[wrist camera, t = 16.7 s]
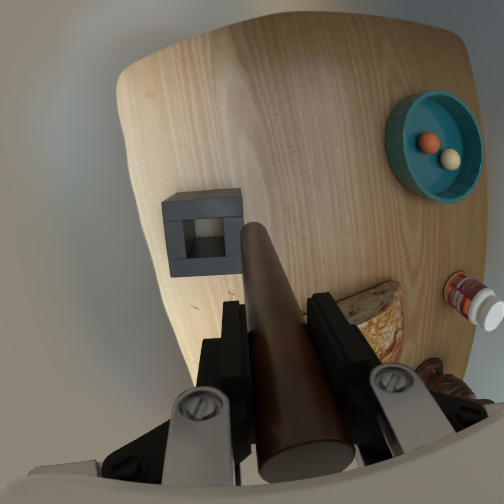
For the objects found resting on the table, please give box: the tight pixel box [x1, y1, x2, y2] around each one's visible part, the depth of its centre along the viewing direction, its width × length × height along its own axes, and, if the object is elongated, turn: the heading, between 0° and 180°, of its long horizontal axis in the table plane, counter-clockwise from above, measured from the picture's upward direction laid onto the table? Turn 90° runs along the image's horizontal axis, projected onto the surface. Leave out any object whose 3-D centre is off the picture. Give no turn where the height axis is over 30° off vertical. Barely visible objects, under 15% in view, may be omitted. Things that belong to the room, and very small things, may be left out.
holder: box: [161, 188, 244, 278], centre depth 34 cm, size 8×8×8 cm
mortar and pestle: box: [415, 358, 494, 407], centre depth 39 cm, size 12×9×20 cm
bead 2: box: [440, 148, 460, 171], centre depth 34 cm, size 3×3×3 cm
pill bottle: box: [444, 272, 504, 331], centre depth 38 cm, size 6×6×11 cm
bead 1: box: [418, 132, 440, 154], centre depth 33 cm, size 3×3×3 cm
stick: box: [240, 222, 356, 484], centre depth 15 cm, size 2×2×20 cm
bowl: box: [385, 90, 484, 203], centre depth 33 cm, size 15×15×5 cm
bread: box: [303, 281, 404, 364], centre depth 40 cm, size 20×18×10 cm
